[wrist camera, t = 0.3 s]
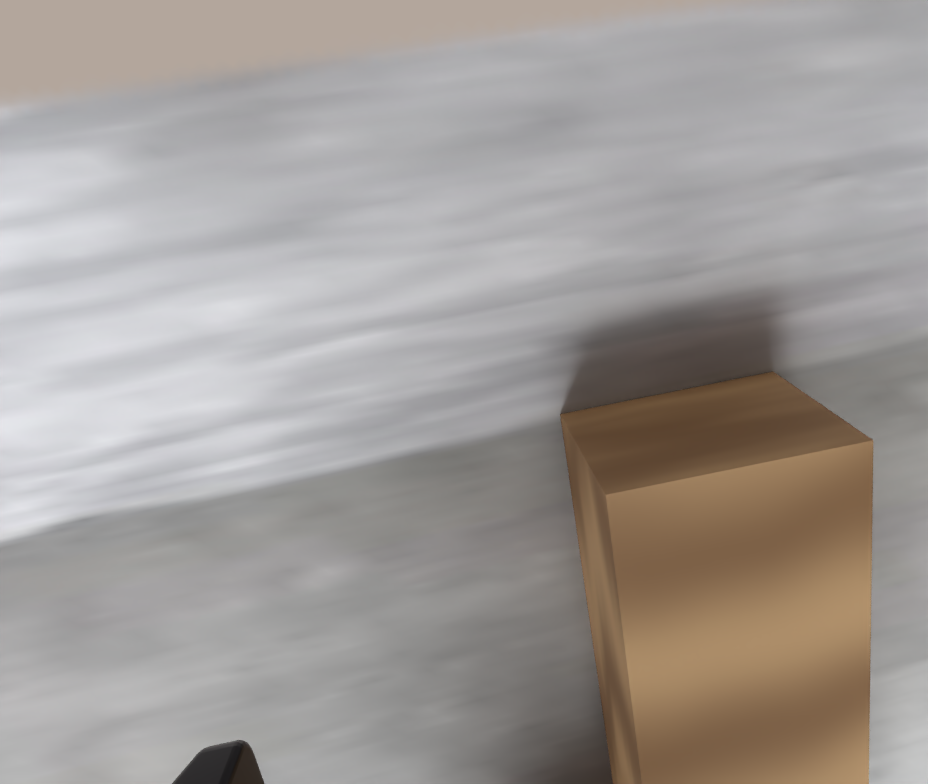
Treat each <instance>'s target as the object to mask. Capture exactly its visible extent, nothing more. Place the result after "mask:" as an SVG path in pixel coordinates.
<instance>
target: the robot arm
mask: <svg viewBox="0 0 928 784" xmlns="http://www.w3.org/2000/svg"><path fill="white" fill-rule="evenodd" d="M172 784H264V781H263V778H262V775H261V773H260V770H259V767H258V764H257V761H256V758H255V756H254V753H253V751H252V748H251V747H250V746H249V744H248V743H247V742H245V741H242V740H237V741H232V742H227V743H223V744H218V745H214V746H209V747H207V748H204V749H203V750H201V751H200V752H199V753H198V754H197V755H196V756H195V757H194V758H193V760H192V761H191V762H190V763H189V764H188V765H187V767H186V768H185V769H184V770H183V771H182V773H181V774H180V775H179V776H178V777H177V778H176V780H175V781H174V782H173V783H172Z"/></svg>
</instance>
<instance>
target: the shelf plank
mask: <svg viewBox="0 0 928 784" xmlns="http://www.w3.org/2000/svg"><path fill="white" fill-rule="evenodd" d="M560 417H561V424H562V431H563V438H564V445H565V452H566V459H567V466H568V473H569V480H570V487H571V494H572V500H573V507H574V514H575V521H576V528H577V535H578V542H579V549H580V556H581V563H582V570H583V577H584V584H585V591H586V598H587V605H588V612H589V619H590V626H591V633H592V640H593V647H594V654H595V661H596V668H597V675H598V682H599V689H600V696H601V703H602V710H603V717H604V724H605V731H606V738H607V745H608V752H609V759H610V766H611V773H612V780H613V784H869V713H870V640H871V567H872V493H873V440H872V439H871V438H869V437H868V436H866V435H865V434H863V433H862V432H860V431H859V430H858V429H856V428H855V427H853V426H852V425H850V424H849V423H847V422H846V421H844V420H843V419H841V418H840V417H839V416H837V415H836V414H834V413H833V412H831V411H830V410H828V409H827V408H825V407H824V406H823V405H821V404H820V403H818V402H817V401H815V400H814V399H812V398H811V397H809V396H808V395H807V394H805V393H804V392H802V391H801V390H799V389H798V388H796V387H795V386H793V385H792V384H791V383H789V382H788V381H786V380H785V379H783V378H782V377H780V376H779V375H777V374H776V373H775V372H768V373H763V374H758V375H753V376H748V377H743V378H738V379H733V380H728V381H723V382H718V383H713V384H708V385H703V386H698V387H693V388H688V389H683V390H678V391H674V392H669V393H664V394H659V395H654V396H649V397H644V398H639V399H634V400H629V401H624V402H619V403H614V404H609V405H604V406H599V407H594V408H589V409H584V410H579V411H574V412H569V413H564V414H560Z"/></svg>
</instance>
